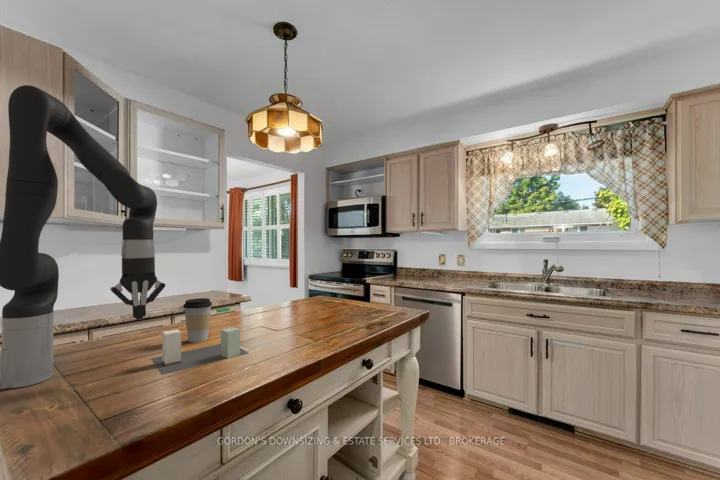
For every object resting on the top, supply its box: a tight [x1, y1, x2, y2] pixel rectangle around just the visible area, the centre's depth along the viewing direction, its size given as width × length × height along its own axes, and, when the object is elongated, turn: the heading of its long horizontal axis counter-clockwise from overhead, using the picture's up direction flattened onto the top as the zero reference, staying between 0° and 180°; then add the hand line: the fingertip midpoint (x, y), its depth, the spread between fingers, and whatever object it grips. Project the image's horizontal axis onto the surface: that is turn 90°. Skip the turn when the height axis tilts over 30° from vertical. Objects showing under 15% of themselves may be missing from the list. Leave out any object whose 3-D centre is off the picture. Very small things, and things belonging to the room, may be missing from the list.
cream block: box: [161, 328, 182, 366], centre depth 93 cm, size 4×4×9 cm
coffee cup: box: [182, 297, 213, 344], centre depth 114 cm, size 9×9×15 cm
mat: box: [150, 343, 250, 376], centre depth 98 cm, size 24×16×1 cm, turn 132°
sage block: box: [220, 326, 241, 359], centre depth 99 cm, size 4×4×8 cm
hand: (139, 318), depth 88 cm, fingers closed
